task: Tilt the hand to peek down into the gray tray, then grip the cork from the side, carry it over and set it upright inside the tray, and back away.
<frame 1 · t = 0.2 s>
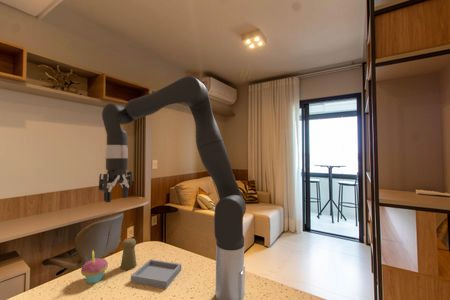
hand: (116, 199, 82), 29 cm above the table, tool pointing down, fingers open, 8 cm apart
gray tray: (157, 276, 81), on the table
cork: (128, 266, 88), on the table
cupcake: (94, 280, 79), on the table
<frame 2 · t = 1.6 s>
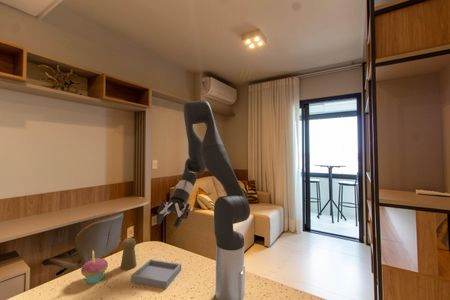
hand: (166, 225, 89), 17 cm above the table, tool tilted 45°, fingers open, 8 cm apart
nothing on the table moved.
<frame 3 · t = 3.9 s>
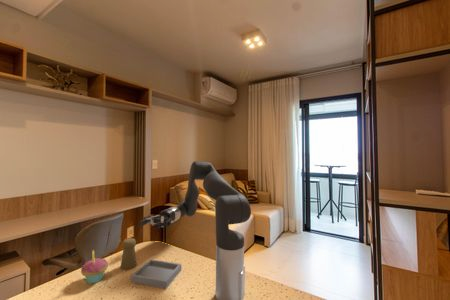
hand: (147, 225, 97), 13 cm above the table, tool horizontal, fingers open, 8 cm apart
nothing on the table moved.
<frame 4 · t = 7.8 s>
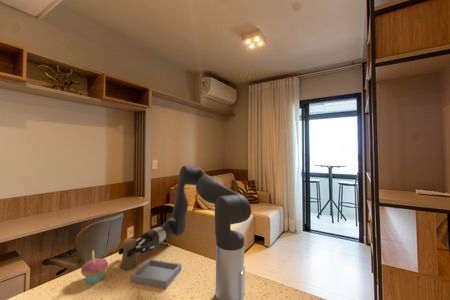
hand: (123, 253, 86), 7 cm above the table, tool horizontal, fingers closed on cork, 4 cm apart
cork: (128, 266, 88), on the table, touching gripper
everything else where it was.
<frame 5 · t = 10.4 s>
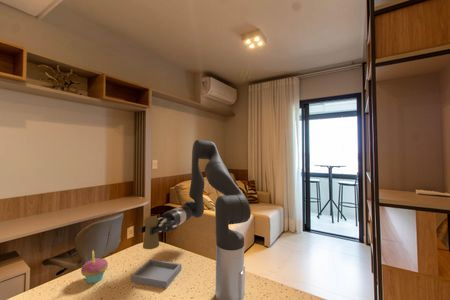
hand: (146, 231, 80), 18 cm above the table, tool horizontal, fingers closed on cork, 4 cm apart
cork: (151, 246, 83), point 11 cm above the table, touching gripper
everything else where it was.
when the fingers open (9 cm above the table, at t = 12.9 s): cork moves 3 cm, resting on gray tray.
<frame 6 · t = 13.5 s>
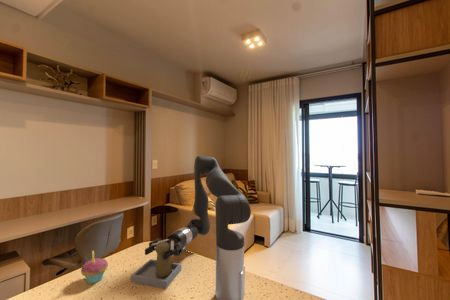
hand: (154, 254, 80), 9 cm above the table, tool horizontal, fingers open, 8 cm apart
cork: (164, 273, 81), point 1 cm above the table, touching gray tray, gripper
everything else where it was.
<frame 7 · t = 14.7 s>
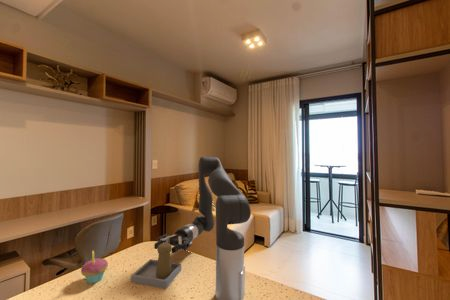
hand: (163, 248, 85), 9 cm above the table, tool horizontal, fingers open, 8 cm apart
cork: (164, 274, 81), point 1 cm above the table, touching gray tray
everything else where it was.
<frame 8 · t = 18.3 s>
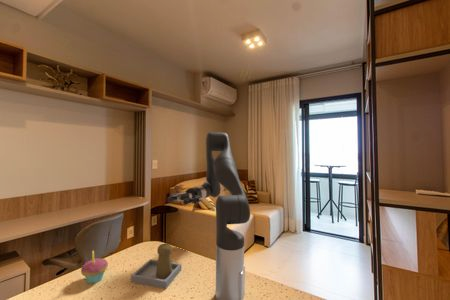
hand: (175, 201, 92), 26 cm above the table, tool horizontal, fingers open, 8 cm apart
nothing on the table moved.
at the end: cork inside the target area on the gray tray (2.7 cm from its centre), point 0.8 cm above the gray tray's base; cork tilted 0°; the gripper is holding nothing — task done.
